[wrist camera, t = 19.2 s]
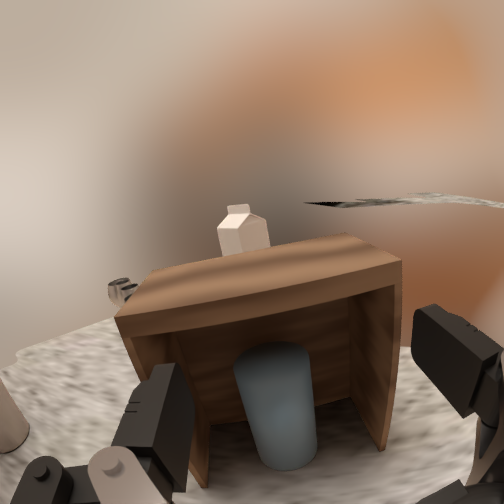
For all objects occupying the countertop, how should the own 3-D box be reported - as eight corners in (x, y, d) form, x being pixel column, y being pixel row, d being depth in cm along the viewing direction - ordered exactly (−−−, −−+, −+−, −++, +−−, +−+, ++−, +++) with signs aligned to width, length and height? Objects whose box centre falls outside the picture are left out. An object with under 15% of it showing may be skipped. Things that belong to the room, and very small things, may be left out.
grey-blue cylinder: (299, 478, 21) (285, 394, 18) (247, 458, 24) (217, 374, 21) (327, 436, 25) (321, 346, 22) (278, 422, 29) (260, 336, 26)
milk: (261, 314, 58) (240, 202, 52) (283, 321, 53) (263, 200, 48) (237, 326, 54) (212, 209, 49) (258, 335, 49) (233, 207, 44)
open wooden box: (384, 449, 21) (401, 259, 17) (201, 488, 21) (113, 317, 16) (353, 392, 31) (345, 232, 26) (205, 422, 30) (152, 270, 26)
